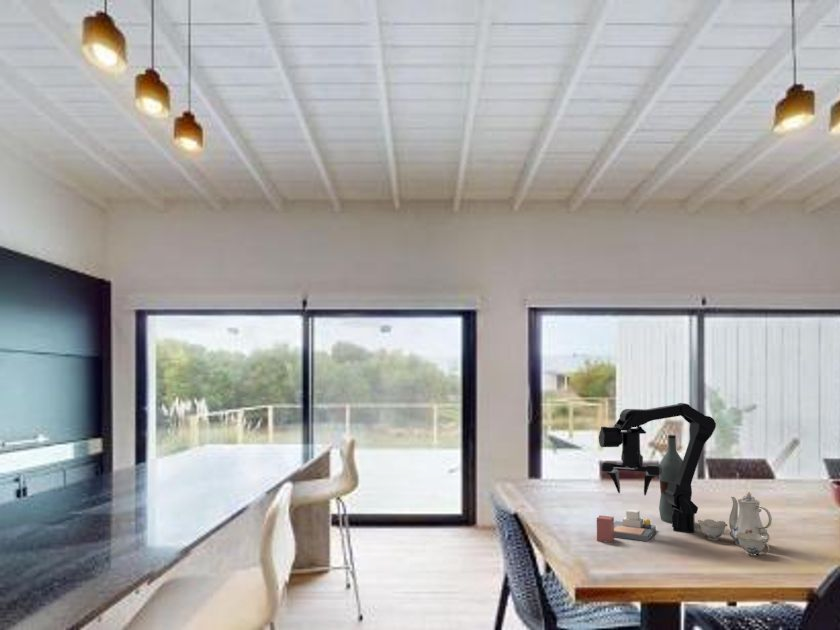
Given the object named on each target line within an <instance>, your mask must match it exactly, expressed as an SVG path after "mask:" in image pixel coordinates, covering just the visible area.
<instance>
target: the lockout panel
mask: <svg viewBox="0 0 840 630" xmlns="http://www.w3.org/2000/svg"><path fill="white" fill-rule="evenodd" d="M655 531H657V529H656V525H654V524H653V525H652V524H651V519H649V518H644V517H641V516H640V520H639V521H638V520H629V519H626V515H625V517H623V519H622V521H618V520H616V521H614V538H620V539H629V540H636V541H645V542H648V541H649V540H650V539H651V537H652V535H653V534H654V533H655Z"/></svg>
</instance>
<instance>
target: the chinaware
mask: <svg viewBox="0 0 840 630" xmlns="http://www.w3.org/2000/svg"><path fill="white" fill-rule="evenodd" d="M730 499H732V507H731V511H730V514H729V519H728V520H729V521H728V522H729V523H728V524H729V528H730V533H729V536H730V537H731V538H732V539H733V541H734V544H735V545H736V546H738V547H741V548H742V549H743V550H744V551H746V554H747V553H748V554H752V555H751V556H754V554H759V555H758V556H762V554H765V555H767V554H769V552H770V546H769V544H768V542H769V541H770V539H771V538H770V535H769V533H768V530H767V529H768V528H769V527H771V525H772V521H773V519H772V518H773V517H772V514H771V512H770V511H769V509H767V507H764V506H762V505H761V501H760V500H757V499H756V498H755V497H754V496H753V495H752V493H751V492H750V491H747V493H746V494H745V495H743V497H742V498H740V499H737V498H736V497H735V496H730ZM762 510H764V511H765V512H766V514H767V516H768V521H767V522H768V523H767V525H766V526H763V523H762V520H761V517H760V513H761V512H762ZM697 521H698V524H699V526H700V529H701V531H702V533H703V534H704V535H705V536H706V537H707V538H706V540H710V541H718V540H719V538H721V536H722V535H724V533H725V529H726V527H728V524H727V523H726V522H725V521H724V520H723V521H722V520H719V521H718V520H717V521H716V520H714V519H711V518H709V519H704V520H701V519H698V520H697ZM766 546H767V551H766V552H764V551H763V550H764V547H766ZM748 554H747V555H748Z"/></svg>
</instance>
